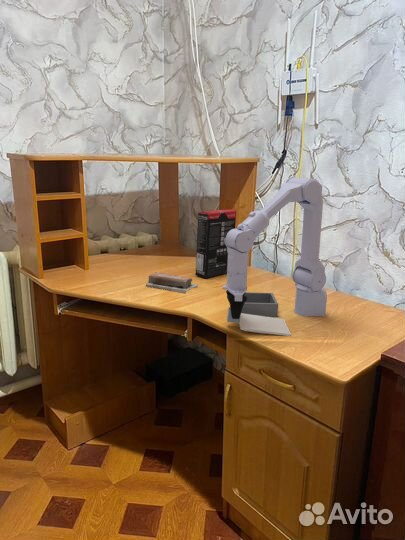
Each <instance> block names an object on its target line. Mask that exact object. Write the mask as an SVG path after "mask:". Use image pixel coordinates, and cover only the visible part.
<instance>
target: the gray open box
mask: <svg viewBox="0 0 405 540" xmlns="http://www.w3.org/2000/svg"><path fill="white" fill-rule="evenodd" d="M244 296H247V300H246V302H245V303H244V305H243V308H242V311H241V313H243V314H250V315H258V316H265V317H272V318H278V313H279V311H278V310H279V303H278V301H277V299H276V297H275V295H274V293H273V292H253V291H252V292H250V291H249V292H247V291H246V293H245V295H244Z"/></svg>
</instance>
